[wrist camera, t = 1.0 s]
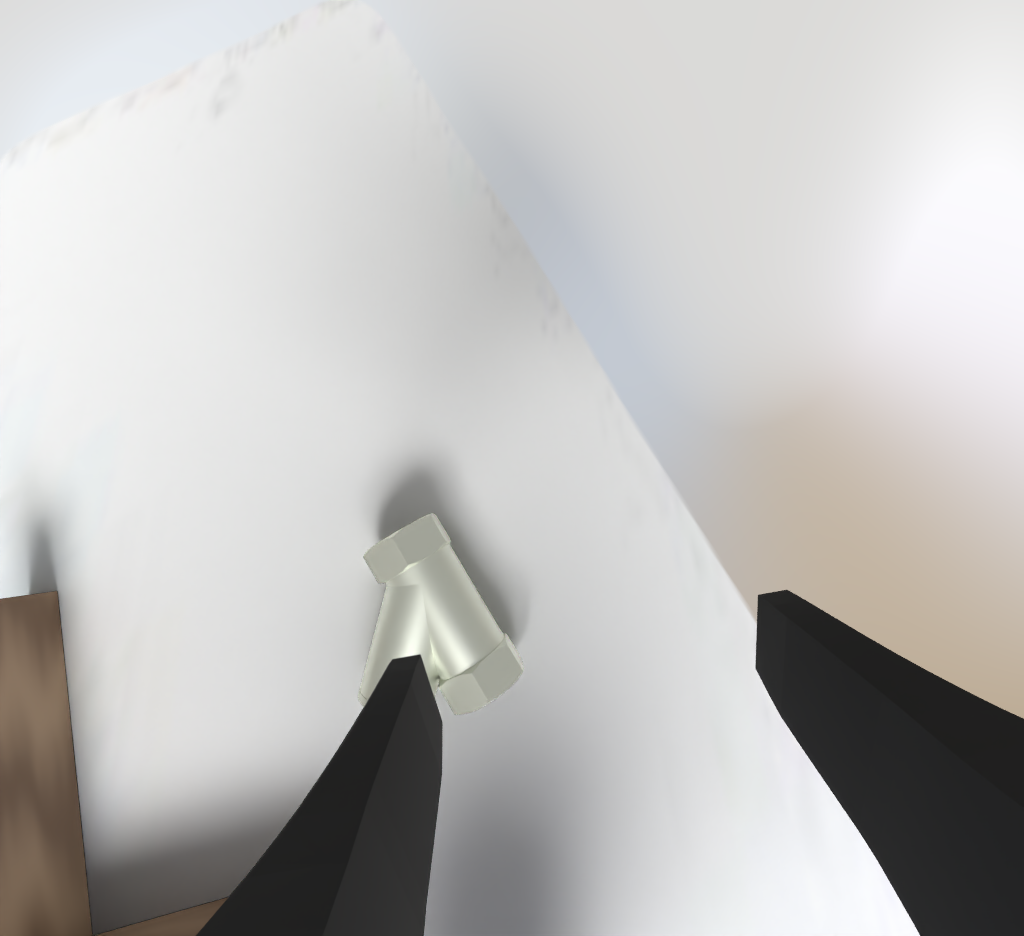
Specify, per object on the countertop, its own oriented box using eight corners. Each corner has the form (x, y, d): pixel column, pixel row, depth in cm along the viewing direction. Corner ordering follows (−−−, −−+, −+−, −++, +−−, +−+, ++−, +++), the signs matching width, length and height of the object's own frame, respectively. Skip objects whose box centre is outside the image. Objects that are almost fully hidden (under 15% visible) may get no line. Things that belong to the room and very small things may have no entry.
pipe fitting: (400, 731, 23) (521, 654, 24) (381, 775, 19) (526, 681, 20) (317, 585, 24) (437, 513, 24) (282, 599, 20) (426, 513, 20)
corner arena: (372, 885, 22) (352, 963, 18) (64, 976, 20) (-33, 1083, 16) (316, 537, 23) (286, 538, 20) (28, 596, 22) (-68, 610, 18)
